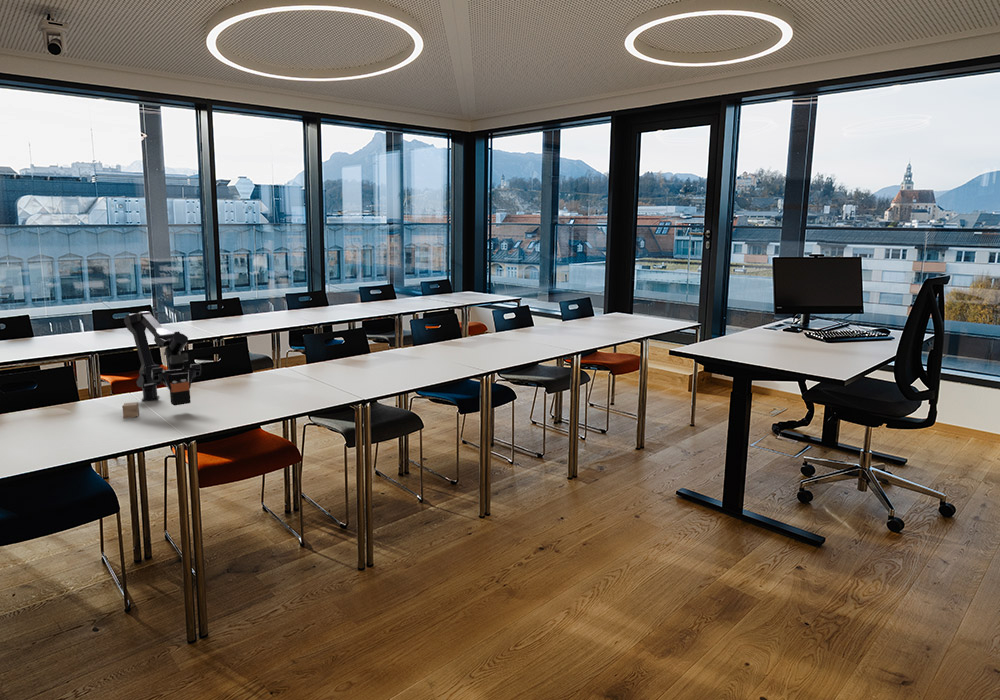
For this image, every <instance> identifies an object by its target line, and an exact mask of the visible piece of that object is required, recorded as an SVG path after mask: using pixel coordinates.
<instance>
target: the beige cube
mask: <svg viewBox="0 0 1000 700" xmlns="http://www.w3.org/2000/svg"><path fill="white" fill-rule="evenodd" d="M139 406H140V405H139V401H134V402H124V403H123V405H122V416H123V418H124V419H129V418H128V417H130V418H136V417H135V416H137V417H138V416H139V415H140V407H139ZM138 414H139V415H138Z"/></svg>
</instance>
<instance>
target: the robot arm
mask: <svg viewBox="0 0 1000 700" xmlns="http://www.w3.org/2000/svg"><path fill="white" fill-rule="evenodd" d="M123 323H124V324H125V326H126V329H127V330H128V331H129V332H130V333H131V334H132V336H133V339H134V343H135V345H136V350H137V353H138V358H139V361H140V368H139V372H138V373H139V377H138V378H137V380H136V385H137V388H138V387H139V388H141V389H142V398H141V400H147V401H152V400H151V399H158V400H159V398H160V395H158V388H157V387H158V386H159V385H162V383H163V385H164V386H166V388H167V389H168V390H169V391H170V390H171V386H170V383H171V382H170V380H169V378H168V376H169V375H171V376H173V375H183V374H187V382H189V388H190V389H191V386H192V382H193V379H196V377H200V376H201V375H202V365H201V363H193V364H192V363H191V364H190V365H189V367H187V368H186V367H185V362H188V361H189V354H188V352H184V353H182V354H181V352H182V351H183V350H184V348H185V347H186V345H187V344H188V342H189V337H188V336H186V334H184V333H182V332H180V331H174V332H172V331H171V330H170V329H166V328H164V327H163V326H162V325H161V324H160V322H159V321H158V320H157V319H156V318H155V317H154V316H153V314H152V312H150V311H139V312H137V313H128V314H127V313H126V315H125V317H124V319H123ZM146 330H148V332H150V333H151V334H152V336H154V339H153V341H154V343H155V344H156V345H157V347H159V348H165V349H164V352H163V355H164V356H165V358H166V363H167V368H168V369H164V368H163V367H162V366H161V367H160V365H159V364H156V363H155V362H154V361H153V356H152V353H151V348H150V346H149V345H150V344H149V341H148V338H147V334H146ZM158 397H159V398H158Z"/></svg>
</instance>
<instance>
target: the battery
mask: <svg viewBox="0 0 1000 700" xmlns="http://www.w3.org/2000/svg"><path fill="white" fill-rule="evenodd" d="M169 383H170V386H171V390H169V397H170V398H169V399H170V404H171V405H173V406H174V407H175V406H180V405H181V406H182V405H187V404H191V402H192V401H191V390H190V389H191V387H190V388H189V382H188V380H187V379H186V378H183V379H180V381H177V380H172V381H171V382H169Z"/></svg>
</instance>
